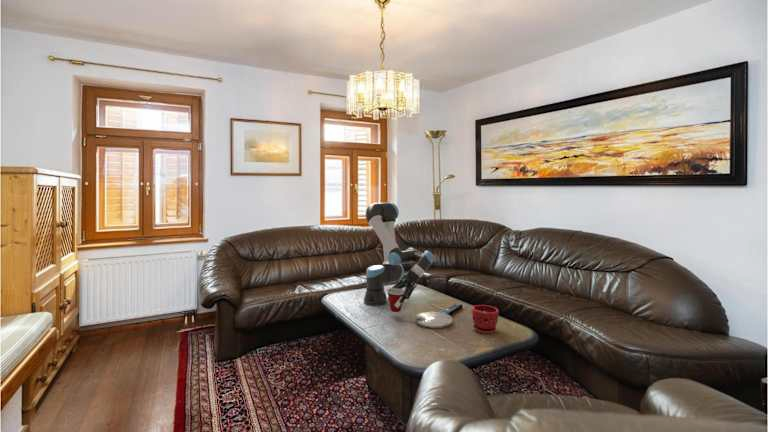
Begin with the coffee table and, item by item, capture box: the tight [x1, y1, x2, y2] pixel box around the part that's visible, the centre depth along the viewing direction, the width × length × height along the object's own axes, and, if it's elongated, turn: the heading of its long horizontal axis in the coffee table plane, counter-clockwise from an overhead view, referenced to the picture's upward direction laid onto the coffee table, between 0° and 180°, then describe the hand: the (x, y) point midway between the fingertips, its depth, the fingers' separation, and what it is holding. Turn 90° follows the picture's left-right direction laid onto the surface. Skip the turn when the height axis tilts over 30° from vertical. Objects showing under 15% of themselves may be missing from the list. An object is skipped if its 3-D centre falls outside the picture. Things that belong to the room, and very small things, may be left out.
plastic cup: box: [386, 287, 405, 313], centre depth 214 cm, size 11×11×12 cm
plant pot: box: [471, 304, 500, 335], centre depth 192 cm, size 13×13×12 cm
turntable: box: [415, 311, 453, 329], centre depth 205 cm, size 20×20×2 cm
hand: (391, 303), depth 212 cm, fingers closed on plastic cup, 10 cm apart
